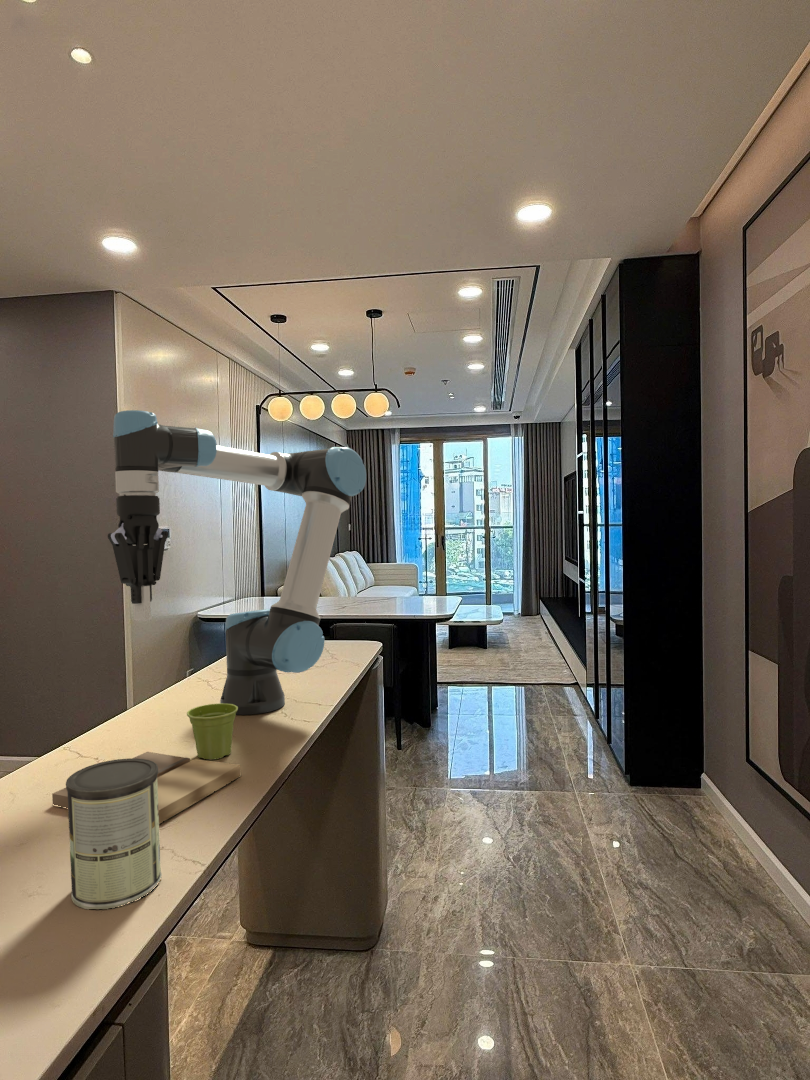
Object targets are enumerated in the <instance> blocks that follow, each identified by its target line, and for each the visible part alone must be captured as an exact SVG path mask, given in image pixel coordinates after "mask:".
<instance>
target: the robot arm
mask: <svg viewBox="0 0 810 1080" xmlns="http://www.w3.org/2000/svg"><path fill="white" fill-rule="evenodd" d="M112 431H113V435H112V438H113V447H114V464H115V465H114V466H115V467H114V468H115V477H114V478H115V493H116V494H119V495H118V496H117V497H116V499H115V503H116V506H115V507H116V515H117V516H118V517H119V522H118V525H117V526H118V528H117V529H116V530H115V531H114V532H109V533H107V539H108V540H109V543H110V544H111V546H112V548H113V554H114V557H115V558H114V559H115V563H116V566H117V571H118V575H119V579H120V582H121V584H124V585H126V587H130V598H131V599H130V601H131V604H132V605H133V621H134V622H135V621H136V622H149V621H151V620H152V617H151V616H152V614H151V611H152V610H151V602H152V600H153V596H152V595H153V590H152V589H153V588H152V586H156V584H157V581H160V579H161V577H162V576H161V574H162V568H163V567H162V566H163V560H164V552H165V547H166V545H165V544H166V541H167V540H168V538H169V532H168V530H162V529H161V528H160V527H159V526H160V525H159V521H158V519H157V518H158V517H157V516H159V515H160V513H161V511H160V510H161V507H160V497H159V495H156V494H158V493H159V491H160V485H159V472H165V473H166V472H167V473H175V474H176V473H177V474H181V475H190V476H198V477H204V478H209V479H217V480H218V479H219V480H223V481H224V480H225V481H231V482H236V483H237V482H238V483H239V482H240V483H246V484H253V485H259V486H264V487H265V488H266V489H267V491H268V490H269V491H271V492H278V493H284V494H289V495H293V496H299V497H301V498H302V499H303V501H304V502H305V507H304V511H303V515H302V518H301V522H300V525H299V528H298V533H297V537H296V540H295V542H294V543H295V544H294V547H293V551H292V554H291V557H290V561H289V565H288V569H287V572H286V576H285V580H284V583H283V587H282V589H281V590H282V591H281V594H280V598H279V600H278V601H277V602H275V603H273V604H272V605H270V608H268V609H267V608H266V609H257V610H251V611H250V610H249V611H243V612H235V613H230V614H229V615H227V617H226V618H225V626H224V627H225V628H224V633H225V650H226V652H225V653H226V655H225V656H226V678H225V682H224V685H223V689H222V691H221V692H222V694H221V696H220V700H219V703H223V704H233V705H236V706H237V707H238V710H237V712H236V715H240V716H244V715H245V716H246V715H247V716H248V715H260V714H266V713H269V712H273V711H276V710H279V709H281V708H282V707H284V706H285V704H286V702H285V700H286V698H285V692H284V691H283V686H282V684H281V680H280V678H279V675H278V671H280V672H283V673H287V674H289V673H293V674H300V673H303V672H306V671H308V670H309V669H310V668H312V667H314V665H316V664H317V663H318V661H319V660H320V658H321V657H322V654H323V651H324V648H325V636H324V635H323V634H324V633H323V630H322V628H321V627H320V626H319V625H320V621H321V616H320V614H319V613H318V611H317V607H318V604H319V598H320V596H321V591H322V588H323V584H324V581H325V577H326V574H327V573H326V572H327V570H328V565H329V562H330V561H329V560H330V556H331V553H332V550H333V544H334V541H335V538H336V535H337V534H336V533H337V530H338V526H339V522H340V518H341V514H342V513H344V512H345V511H348V510H349V509H350V505H351V501H352V497H354V496H357V495H359V494H360V493H361V492H362V491H363V490H364V489H365V486H366V483H367V470H366V466H365V465H364V461H363V459H362V458H361V455H359V454H358V452H356V451H355V450H354V449H353V448H350V447H346V446H340V447H338V446H332V447H330V448H324V449H315V450H306V451H299V452H286V453H285V452H279V451H273V452H271V453H269V454H266V453H261V452H255V451H251V450H244V449H240V448H234V447H228V446H222V445H217V439H216V437H215V435H214V434H213V433H212V432H211V431H210V430H207V429H202V428H198V427H184V426H171V425H162V424H159V421H158V418H157V415H156V413H154V412H151V411H147V410H134V409H132V410H131V409H129V410H121V411H119V412H117V413H115V414H114V417H113V430H112Z"/></svg>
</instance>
